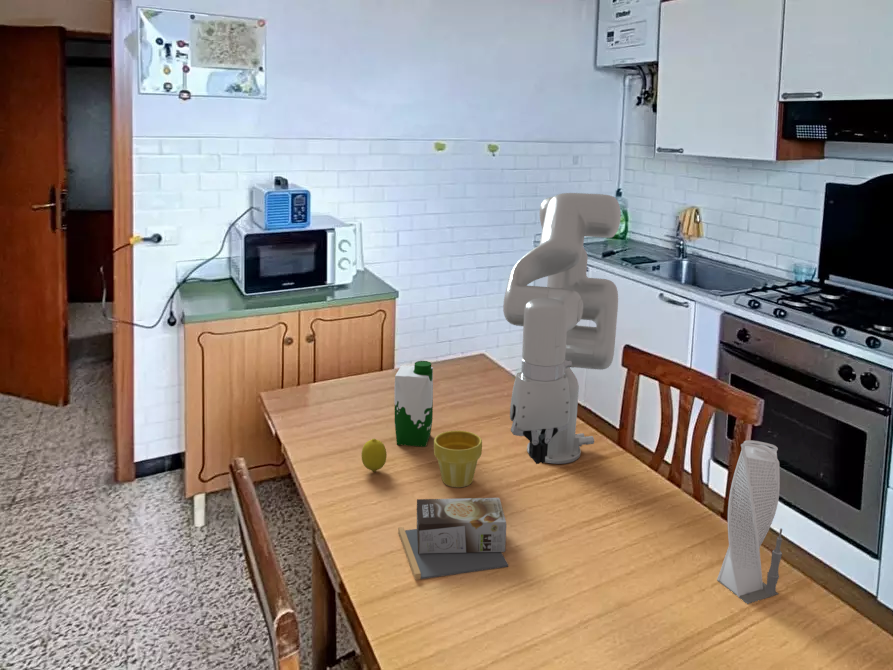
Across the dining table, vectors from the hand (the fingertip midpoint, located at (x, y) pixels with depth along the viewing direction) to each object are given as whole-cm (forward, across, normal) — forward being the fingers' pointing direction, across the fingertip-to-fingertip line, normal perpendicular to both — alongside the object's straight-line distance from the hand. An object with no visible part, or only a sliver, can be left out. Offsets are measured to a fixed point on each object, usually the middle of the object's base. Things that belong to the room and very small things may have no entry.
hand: (537, 459), depth 135 cm
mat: (+16, +16, +1) cm, 23 cm away
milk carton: (+18, +14, -46) cm, 51 cm away
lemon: (+17, +26, -32) cm, 44 cm away
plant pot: (+17, +9, -24) cm, 30 cm away
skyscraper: (+16, -29, +23) cm, 41 cm away
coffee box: (+12, +6, +1) cm, 14 cm away
